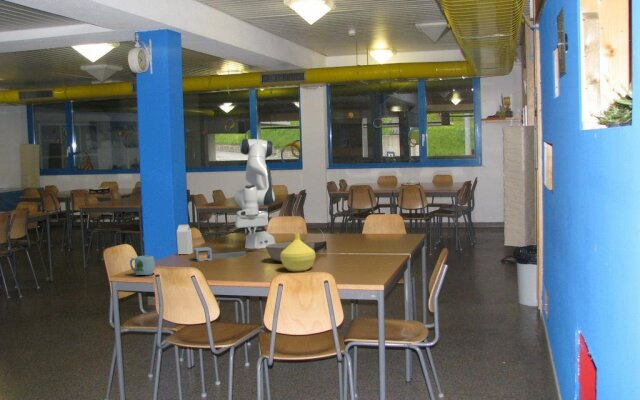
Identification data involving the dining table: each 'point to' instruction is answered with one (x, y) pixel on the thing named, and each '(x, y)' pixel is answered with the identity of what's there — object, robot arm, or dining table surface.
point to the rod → (228, 255)
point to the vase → (297, 255)
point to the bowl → (277, 248)
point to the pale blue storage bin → (202, 250)
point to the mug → (143, 265)
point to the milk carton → (184, 239)
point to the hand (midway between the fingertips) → (252, 234)
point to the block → (202, 255)
